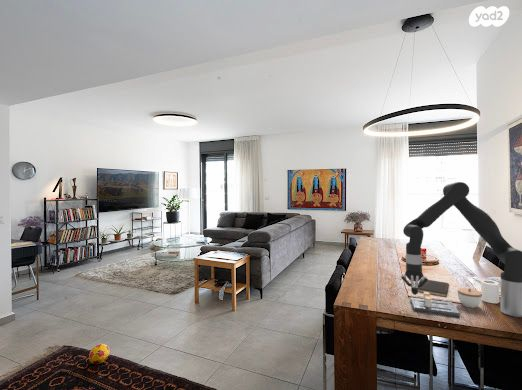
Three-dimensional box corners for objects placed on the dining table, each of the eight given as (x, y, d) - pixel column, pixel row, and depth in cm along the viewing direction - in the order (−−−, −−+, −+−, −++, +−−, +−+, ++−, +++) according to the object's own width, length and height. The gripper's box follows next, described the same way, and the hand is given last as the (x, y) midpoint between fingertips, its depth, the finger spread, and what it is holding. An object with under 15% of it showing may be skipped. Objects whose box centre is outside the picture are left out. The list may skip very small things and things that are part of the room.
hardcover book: (415, 291, 172) (415, 288, 172) (421, 281, 191) (421, 278, 191) (446, 297, 163) (446, 293, 163) (448, 286, 181) (448, 283, 181)
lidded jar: (471, 301, 156) (471, 284, 156) (487, 309, 145) (487, 291, 145) (452, 301, 156) (452, 285, 155) (467, 310, 145) (467, 292, 145)
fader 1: (428, 300, 152) (428, 292, 152) (429, 302, 149) (429, 294, 149) (423, 299, 153) (423, 291, 153) (424, 301, 150) (424, 293, 150)
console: (452, 305, 150) (452, 301, 150) (459, 317, 137) (459, 312, 137) (410, 300, 158) (410, 296, 158) (414, 311, 145) (414, 306, 145)
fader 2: (430, 305, 146) (430, 296, 146) (431, 307, 143) (431, 299, 143) (424, 304, 147) (424, 296, 147) (425, 306, 144) (425, 298, 144)
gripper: (426, 261, 148) (427, 293, 148) (399, 259, 153) (400, 290, 153) (429, 264, 141) (430, 298, 141) (400, 263, 146) (401, 295, 146)
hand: (414, 294), depth 147 cm, fingers closed
